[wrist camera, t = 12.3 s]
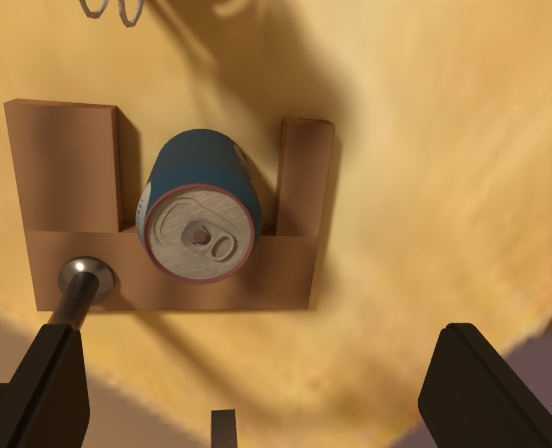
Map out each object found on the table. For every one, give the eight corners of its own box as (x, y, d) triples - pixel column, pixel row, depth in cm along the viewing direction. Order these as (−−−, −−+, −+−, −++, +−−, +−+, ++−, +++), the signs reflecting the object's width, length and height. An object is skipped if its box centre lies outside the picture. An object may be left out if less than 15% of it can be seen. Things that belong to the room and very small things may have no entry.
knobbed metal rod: (225, 257, 33) (242, 466, 17) (223, 299, 35) (237, 526, 19) (57, 255, 31) (-105, 492, 15) (62, 300, 33) (-79, 558, 17)
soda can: (140, 184, 32) (105, 260, 21) (185, 106, 30) (172, 146, 19) (218, 225, 34) (222, 313, 24) (264, 156, 33) (292, 216, 22)
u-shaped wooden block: (327, 120, 32) (334, 125, 30) (303, 295, 39) (307, 308, 37) (16, 98, 28) (3, 102, 27) (46, 296, 35) (37, 311, 33)
